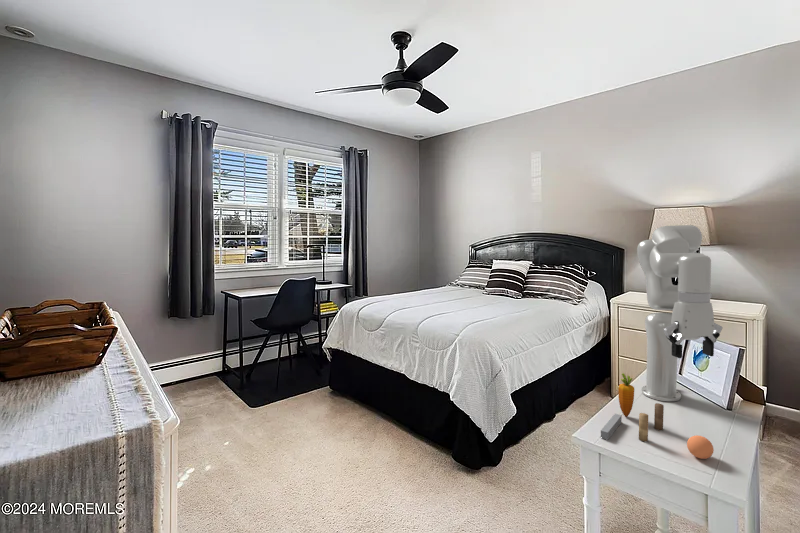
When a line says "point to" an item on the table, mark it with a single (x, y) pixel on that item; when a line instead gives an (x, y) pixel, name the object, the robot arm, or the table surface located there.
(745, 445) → the table surface
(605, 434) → the back wall
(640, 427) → the oak pin
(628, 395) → the carrot
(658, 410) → the walnut pin
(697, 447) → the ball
